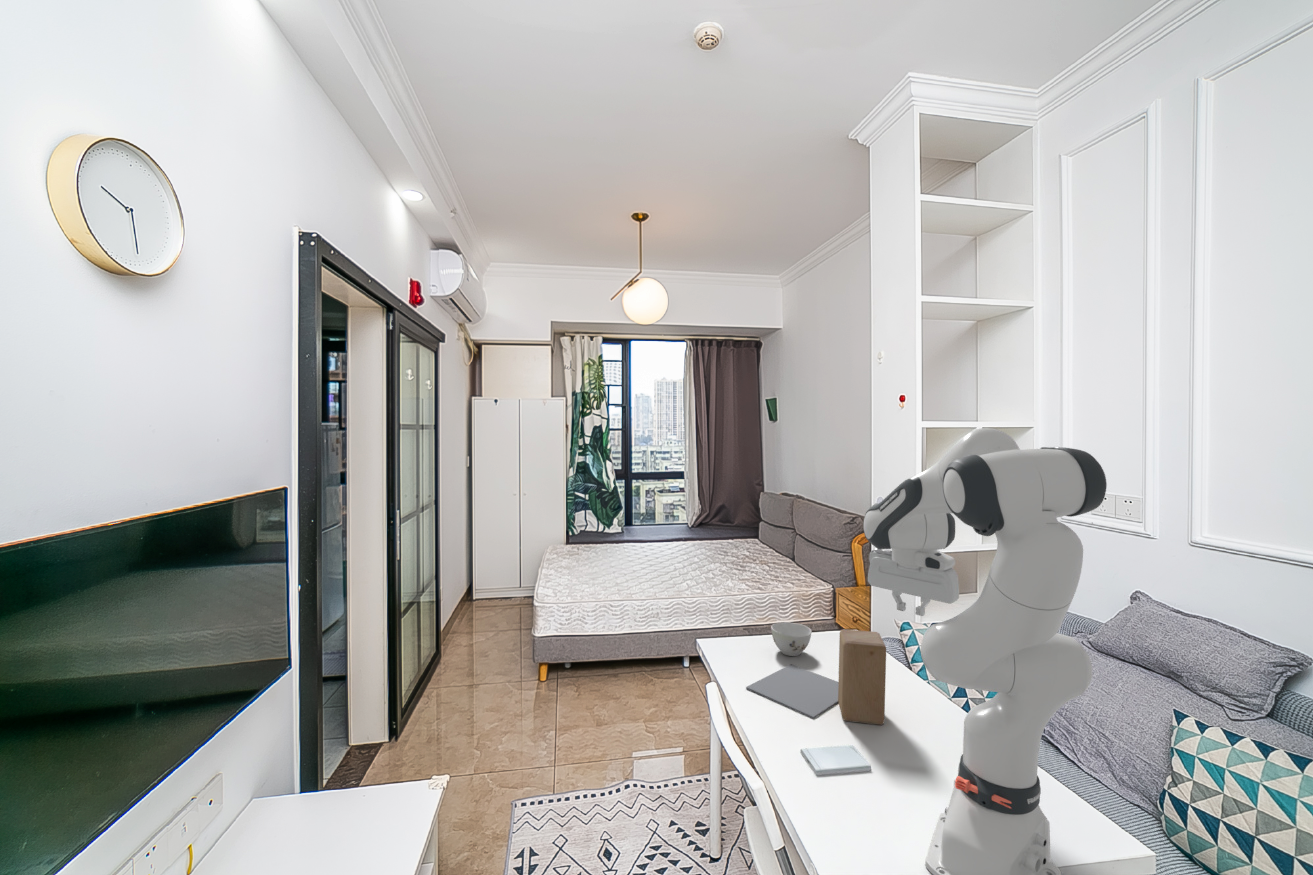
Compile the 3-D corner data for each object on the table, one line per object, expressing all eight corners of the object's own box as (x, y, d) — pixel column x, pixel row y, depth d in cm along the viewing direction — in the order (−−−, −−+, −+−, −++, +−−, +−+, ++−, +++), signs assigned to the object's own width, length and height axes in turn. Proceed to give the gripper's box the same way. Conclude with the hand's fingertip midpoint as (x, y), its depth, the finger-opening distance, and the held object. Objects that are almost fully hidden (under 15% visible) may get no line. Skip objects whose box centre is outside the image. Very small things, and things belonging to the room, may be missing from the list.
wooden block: (885, 726, 137) (887, 645, 136) (842, 722, 139) (844, 642, 138) (877, 706, 147) (879, 630, 146) (837, 702, 149) (839, 627, 148)
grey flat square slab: (813, 718, 140) (813, 716, 140) (746, 688, 156) (746, 686, 156) (856, 690, 155) (856, 688, 155) (791, 665, 171) (791, 664, 171)
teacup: (816, 661, 174) (816, 635, 174) (776, 661, 174) (776, 635, 174) (802, 641, 189) (802, 618, 189) (765, 641, 189) (765, 618, 189)
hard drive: (852, 743, 128) (800, 747, 126) (871, 765, 120) (816, 769, 118) (852, 750, 128) (800, 754, 126) (871, 773, 120) (815, 777, 118)
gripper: (863, 548, 138) (862, 604, 139) (952, 565, 124) (950, 627, 124) (875, 545, 143) (874, 599, 143) (962, 560, 128) (961, 620, 128)
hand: (910, 612), depth 133 cm, fingers open, 3 cm apart
